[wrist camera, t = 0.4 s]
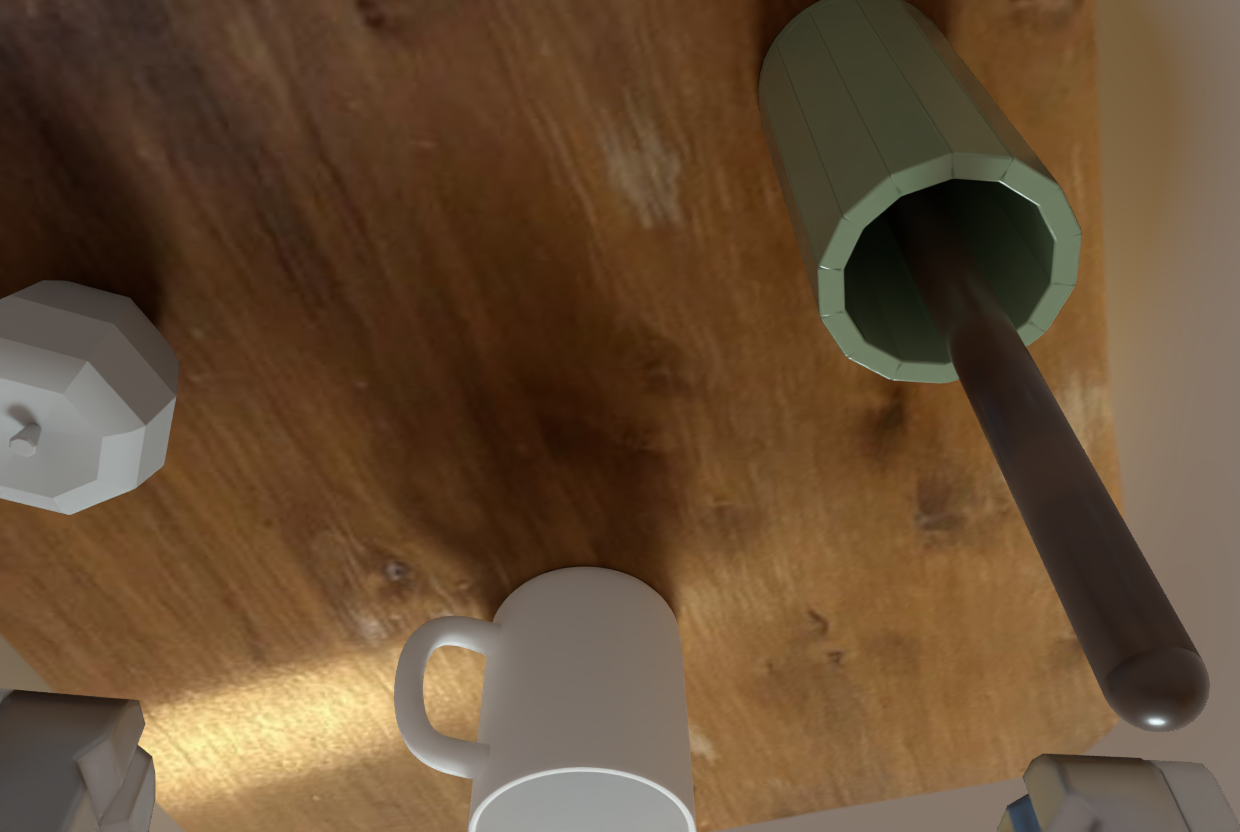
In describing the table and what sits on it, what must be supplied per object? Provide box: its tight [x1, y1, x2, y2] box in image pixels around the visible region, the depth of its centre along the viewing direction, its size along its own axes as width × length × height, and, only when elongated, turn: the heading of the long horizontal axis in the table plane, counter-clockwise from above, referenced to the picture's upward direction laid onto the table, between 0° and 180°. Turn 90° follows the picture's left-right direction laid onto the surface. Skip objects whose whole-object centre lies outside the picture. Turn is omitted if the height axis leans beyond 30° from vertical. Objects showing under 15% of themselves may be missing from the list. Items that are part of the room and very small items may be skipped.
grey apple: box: [0, 280, 179, 515], centre depth 37 cm, size 8×8×7 cm
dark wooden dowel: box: [883, 185, 1210, 732], centre depth 25 cm, size 2×1×24 cm, turn 21°
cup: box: [394, 567, 696, 832], centre depth 45 cm, size 8×12×10 cm
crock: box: [758, 0, 1082, 383], centre depth 30 cm, size 6×6×12 cm
